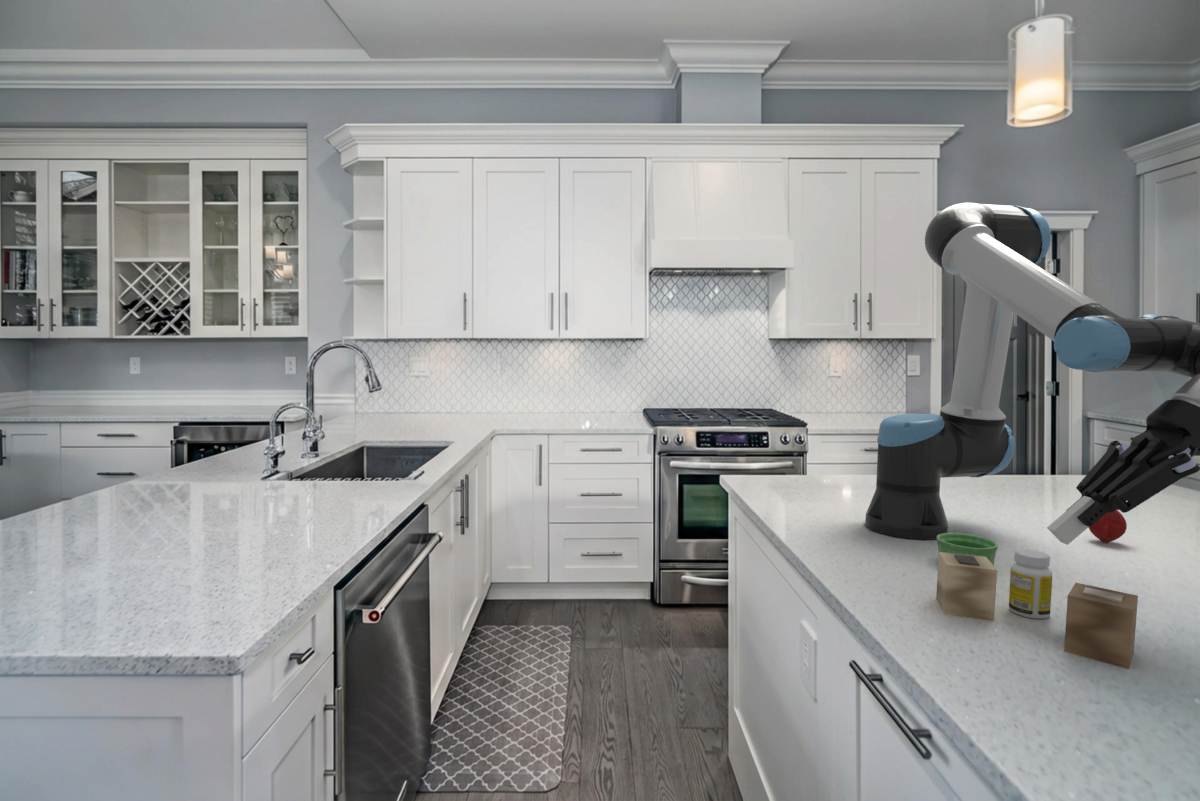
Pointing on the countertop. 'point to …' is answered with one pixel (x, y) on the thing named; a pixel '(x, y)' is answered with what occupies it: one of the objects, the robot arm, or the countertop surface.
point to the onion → (1109, 527)
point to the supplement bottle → (1030, 584)
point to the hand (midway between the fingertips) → (1057, 536)
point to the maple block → (966, 586)
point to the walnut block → (1101, 624)
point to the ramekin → (967, 545)
